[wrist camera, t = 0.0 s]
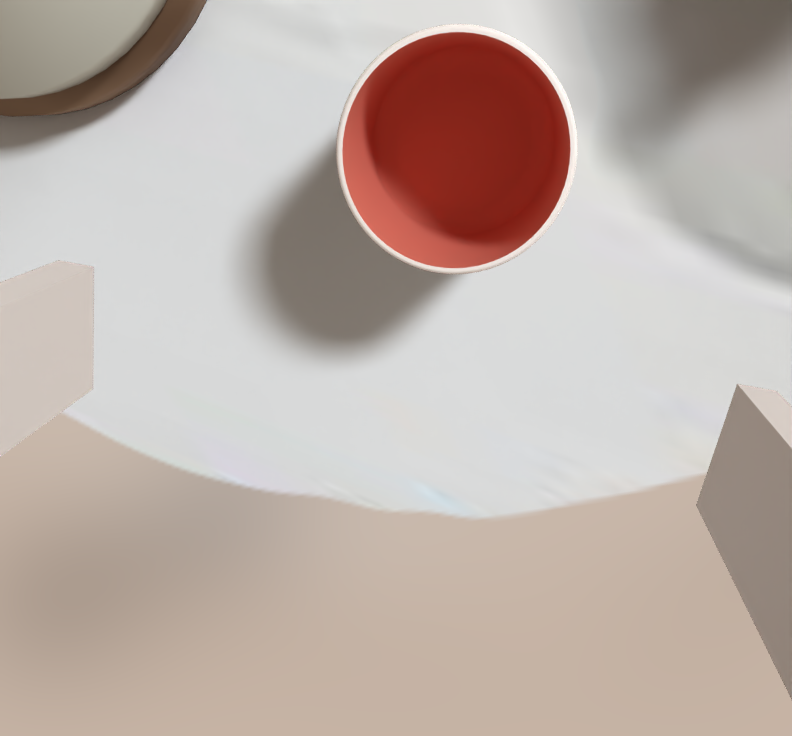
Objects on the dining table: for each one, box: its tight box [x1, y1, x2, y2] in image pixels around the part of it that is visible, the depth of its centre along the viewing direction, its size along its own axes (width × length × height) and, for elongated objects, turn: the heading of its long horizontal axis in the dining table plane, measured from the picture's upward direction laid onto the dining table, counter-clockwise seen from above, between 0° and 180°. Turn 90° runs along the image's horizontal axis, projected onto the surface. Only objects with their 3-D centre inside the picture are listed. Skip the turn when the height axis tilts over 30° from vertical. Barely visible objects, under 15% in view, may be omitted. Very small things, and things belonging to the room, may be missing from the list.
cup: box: [336, 24, 578, 274], centre depth 36 cm, size 10×10×10 cm
